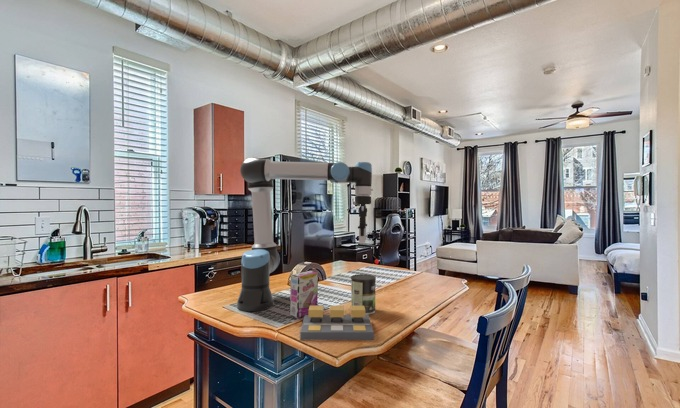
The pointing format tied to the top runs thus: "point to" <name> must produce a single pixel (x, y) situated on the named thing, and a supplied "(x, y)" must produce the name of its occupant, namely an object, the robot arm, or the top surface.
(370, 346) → the top surface
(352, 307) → the button
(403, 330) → the top surface
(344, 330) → the board
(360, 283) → the coffee can
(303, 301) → the candy bar box
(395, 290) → the top surface
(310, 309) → the button
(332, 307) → the button
